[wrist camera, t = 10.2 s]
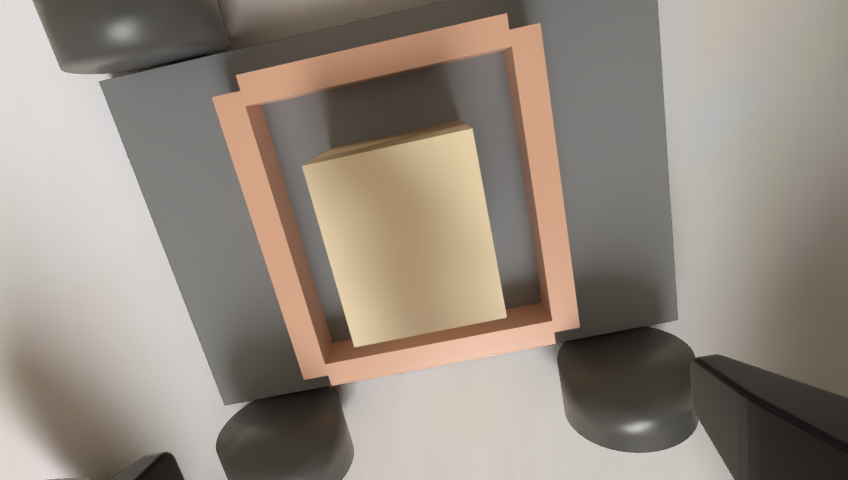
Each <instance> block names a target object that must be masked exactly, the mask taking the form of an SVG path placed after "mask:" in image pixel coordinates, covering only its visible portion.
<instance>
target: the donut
mask: <svg viewBox="0 0 848 480" xmlns="http://www.w3.org/2000/svg"><path fill="white" fill-rule="evenodd" d="M49 480H92V479H88V478H64V479H49Z"/></svg>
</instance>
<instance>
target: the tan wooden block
mask: <svg viewBox="0 0 848 480" xmlns="http://www.w3.org/2000/svg"><path fill="white" fill-rule="evenodd" d="M302 168H303V172H304V175H305V178H306V182H307V185H308V189H309V192H310V196H311V199H312V203H313V206H314V210H315V213H316V217H317V220H318V223H319V227H320V230H321V234H322V237H323V241H324V244H325V248H326V251H327V255H328V258H329V261H330V265H331V268H332V272H333V275H334V279H335V282H336V286H337V289H338V293H339V296H340V300H341V303H342V306H343V310H344V313H345V317H346V320H347V324H348V327H349V331H350V334H351V338H352V341H353V344H354V347H359V346H364V345H369V344H375V343H380V342H385V341H390V340H395V339H400V338H405V337H410V336H415V335H420V334H426V333H431V332H436V331H441V330H446V329H451V328H456V327H461V326H466V325H472V324H477V323H482V322H487V321H492V320H497V319H502V318H507V315H506V309H505V304H504V299H503V293H502V288H501V282H500V277H499V271H498V266H497V260H496V255H495V249H494V244H493V238H492V233H491V227H490V222H489V216H488V211H487V205H486V200H485V194H484V189H483V183H482V178H481V172H480V167H479V161H478V156H477V150H476V145H475V139H474V134H473V128H471V127H470V126H468V125H467V124H466V123H464V122H463V121H461V120H458V121H453V122H449V123H444V124H440V125H435V126H431V127H426V128H422V129H417V130H413V131H408V132H404V133H399V134H395V135H390V136H385V137H381V138H376V139H372V140H367V141H363V142H358V143H354V144H349V145H345V146H340V147H336V148H331V149H329V150H327V151H326V152H324V153H322V154H321V155H319V156H317V157H316V158H314V159H313V160H311V161H309V162H308V163H306V164H304V165H303V166H302Z"/></svg>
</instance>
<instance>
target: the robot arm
mask: <svg viewBox="0 0 848 480" xmlns="http://www.w3.org/2000/svg"><path fill="white" fill-rule="evenodd" d="M690 375H691V393H692V404H693V408H694V411H695V413H696V415H697V417H698V419H699V421H700V422H701V424H702V426H703V427H704V429H705V431H706V432H707V434H708V436H709V437H710V439H711V441H712V443H713V444H714V446H715V448H716V449H717V451H718V453H719V454H720V456H721V458H722V459H723V461H724V463H725V464H726V466H727V468H728V470H729V471H730V473H731V475H732V476H733V478H734V480H848V398H846V397H843V396H840V395H837V394H834V393H831V392H828V391H825V390H822V389H819V388H816V387H813V386H810V385H808V384H805V383H802V382H799V381H796V380H793V379H790V378H787V377H784V376H781V375H778V374H775V373H772V372H769V371H766V370H763V369H760V368H758V367H755V366H752V365H749V364H746V363H743V362H740V361H737V360H734V359H731V358H728V357H725V356H722V355H719V354H714V355H708V356H703V357H697V358H694V359H693V360H692V361H691V364H690ZM110 480H184V478H183V475H182V473H181V471H180V468H179V466H178V464H177V462H176V459H175V457H174V456H173V455H172V454H171V453H168V452H163V453H158V454H152V455H147V456H144V457H143V458H141V459H140V460H138V461H137V462H135V463H134V464H132V465H131V466H129V467H128V468H126V469H125V470H124V471H122V472H121V473H119V474H118V475H116V476H115V477H113V478H112V479H110Z"/></svg>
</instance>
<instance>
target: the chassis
mask: <svg viewBox="0 0 848 480" xmlns="http://www.w3.org/2000/svg"><path fill="white" fill-rule="evenodd" d="M33 2H34V5H35V7H36V10H37V12H38V15H39V17H40V20H41V22H42V24H43V27H44V29H45V32H46V34H47V37H48V39H49V42H50V44H51V47H52V49H53V51H54V54H55V56H56V59H57V61H58V64H59V66H60V69H61V70H62V71H64V72H68V73H75V74H106V73H119V72H129V71H137V70H145V69H151V68H155V69H151V70H146V71H142V72H138V73H133V74H129V75H125V76H121V77H116V78H112V79H108V80H103V81H99V83H100V86H101V88H102V91H103V93H104V96H105V98H106V101H107V104H108V106H109V109H110V111H111V114H112V116H113V119H114V122H115V124H116V127H117V129H118V132H119V134H120V137H121V140H122V142H123V145H124V147H125V150H126V152H127V155H128V158H129V160H130V163H131V165H132V168H133V171H134V173H135V176H136V178H137V181H138V183H139V186H140V189H141V191H142V194H143V196H144V199H145V201H146V204H147V207H148V209H149V212H150V214H151V217H152V219H153V222H154V225H155V227H156V230H157V232H158V235H159V237H160V240H161V243H162V245H163V248H164V250H165V253H166V256H167V258H168V261H169V263H170V266H171V268H172V271H173V274H174V276H175V279H176V281H177V284H178V286H179V289H180V292H181V294H182V297H183V299H184V302H185V304H186V307H187V310H188V312H189V315H190V317H191V320H192V322H193V325H194V328H195V330H196V333H197V335H198V338H199V341H200V343H201V346H202V348H203V351H204V353H205V356H206V359H207V361H208V364H209V366H210V369H211V371H212V374H213V377H214V379H215V382H216V384H217V387H218V389H219V392H220V395H221V397H222V400H223V402H224V405H230V404H235V403H240V402H246V401H251V400H254V401H252V402H251V403H249V404H248V405H246V406H245V407H244V408H242V409H241V410H240V411H238V412H237V413H236V414H235V415H234V416H233V417H232V418H231V419H230V420H229V421H228V422H227V423H226V424H225V426H224V427H223V429H222V430H221V432H220V434H219V436H218V438H217V442H216V451H217V454H218V457H219V459H220V461H221V464H222V466H223V469H224V471H225V474H226V476H227V479H228V480H342V479H343V478H344V476H345V475H346V473H347V472H348V470H349V468H350V466H351V464H352V460H353V456H354V446H353V443H352V440H351V436H350V433H349V430H348V427H347V423H346V420H345V417H344V413H343V410H342V407H341V404H340V400H339V397H338V395H337V393H336V392H335V391H334V390H333V389H332V388H330V387H328V386H334V385H340V384H345V383H350V382H356V381H361V380H366V379H371V378H377V377H382V376H387V375H393V374H398V373H403V372H409V371H414V370H419V369H425V368H430V367H435V366H440V365H446V364H451V363H456V362H462V361H467V360H472V359H478V358H483V357H488V356H494V355H499V354H504V353H509V352H515V351H520V350H525V349H531V348H536V347H541V346H547V345H552V344H556V343H559V342H564V341H566V342H565V343H564V344H563V346H562V347H561V348H560V350H559V353H558V357H557V361H558V368H559V375H560V382H561V389H562V395H563V402H564V409H565V414H566V417H567V420H568V421H569V423H570V425H571V426H572V427H573V428H574V429H575V430H576V431H577V432H578V433H579V434H580V435H582V436H583V437H584V438H586V439H588V440H589V441H591V442H593V443H595V444H598V445H600V446H603V447H606V448H609V449H613V450H617V451H623V452H633V453H646V452H655V451H660V450H665V449H668V448H671V447H674V446H676V445H678V444H680V443H682V442H683V441H685V440H686V439H687V438H689V437H690V436H691V435H692V434H693V432H694V431H695V429H696V427H697V425H698V421H699V419H698V417H697V415H696V413H695V411H694V408H693V404H692V393H691V375H690V364H691V361H692V360H693V359H694V358H695V355H694V353H693V351H692V349H691V348H690V347H689V346H688V345H687V344H686V343H685V342H684V341H683V340H681V339H679V338H678V337H676V336H674V335H672V334H670V333H667V332H665V331H662V330H659V329H655V328H651V327H645V326H649V325H654V324H659V323H665V322H670V321H675V320H678V313H677V298H676V282H675V266H674V251H673V235H672V220H671V204H670V189H669V173H668V158H667V142H666V126H665V111H664V95H663V80H662V64H661V49H660V33H659V18H658V2H657V0H448V1H444V2H440V3H435V4H431V5H427V6H422V7H418V8H414V9H409V10H405V11H401V12H396V13H392V14H388V15H383V16H379V17H375V18H371V19H366V20H362V21H358V22H353V23H349V24H345V25H340V26H336V27H332V28H327V29H323V30H319V31H315V32H310V33H306V34H302V35H297V36H293V37H289V38H284V39H280V40H276V41H271V42H267V43H263V44H258V45H254V46H250V47H246V48H241V49H237V50H233V51H228V52H224V53H220V54H216V53H218V52H221V51H223V50H225V49H226V48H228V47H229V46H230V41H229V38H228V34H227V31H226V28H225V25H224V21H223V18H222V15H221V12H220V8H219V5H218V2H217V0H33ZM213 54H215V55H213ZM210 55H211V56H210ZM163 66H164V67H163ZM158 67H159V68H158ZM458 120H461V121H463V122H464V123H466V124H467V125H468V126H470V127H471V128H473V134H474V139H475V145H476V150H477V156H478V161H479V167H480V172H481V178H482V183H483V189H484V194H485V200H486V205H487V211H488V216H489V222H490V227H491V233H492V238H493V244H494V249H495V255H496V260H497V266H498V271H499V277H500V282H501V288H502V293H503V299H504V304H505V309H506V315H507V318H502V319H497V320H492V321H487V322H482V323H477V324H472V325H466V326H461V327H456V328H451V329H446V330H441V331H436V332H431V333H426V334H420V335H415V336H410V337H405V338H400V339H395V340H390V341H385V342H380V343H375V344H369V345H364V346H359V347H354V344H353V341H352V338H351V334H350V331H349V327H348V324H347V320H346V317H345V313H344V310H343V306H342V303H341V300H340V296H339V293H338V289H337V286H336V282H335V279H334V275H333V272H332V268H331V265H330V261H329V258H328V255H327V251H326V248H325V244H324V241H323V237H322V234H321V230H320V227H319V223H318V220H317V217H316V213H315V210H314V206H313V203H312V199H311V196H310V192H309V189H308V185H307V182H306V178H305V175H304V172H303V168H302V166H303V165H304V164H306V163H308V162H309V161H311V160H313V159H314V158H316V157H317V156H319V155H321V154H322V153H324V152H326V151H327V150H329V149H331V148H336V147H340V146H345V145H349V144H354V143H358V142H363V141H367V140H372V139H376V138H381V137H385V136H390V135H395V134H399V133H404V132H408V131H413V130H417V129H422V128H426V127H431V126H435V125H440V124H444V123H449V122H453V121H458Z"/></svg>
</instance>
